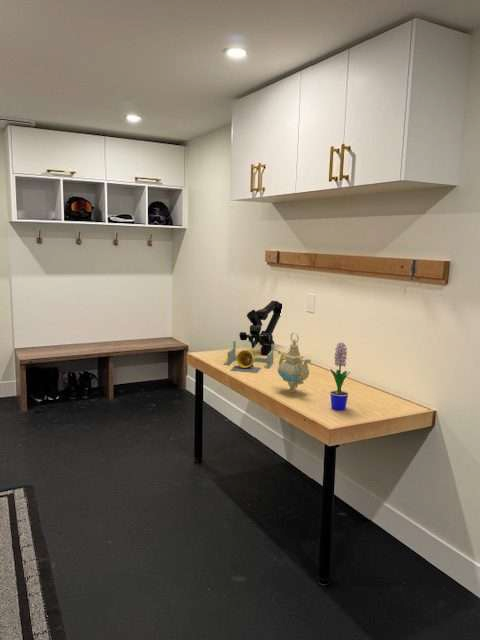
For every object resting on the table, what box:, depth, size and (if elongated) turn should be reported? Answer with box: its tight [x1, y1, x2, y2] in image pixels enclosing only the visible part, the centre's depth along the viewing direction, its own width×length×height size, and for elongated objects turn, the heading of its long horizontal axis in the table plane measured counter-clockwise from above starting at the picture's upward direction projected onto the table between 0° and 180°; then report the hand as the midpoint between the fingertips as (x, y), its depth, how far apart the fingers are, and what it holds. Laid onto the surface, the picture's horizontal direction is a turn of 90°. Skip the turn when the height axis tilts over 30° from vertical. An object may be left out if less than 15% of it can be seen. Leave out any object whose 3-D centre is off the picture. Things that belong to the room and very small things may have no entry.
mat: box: [230, 365, 262, 374], centre depth 289 cm, size 12×16×1 cm
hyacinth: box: [329, 342, 351, 411], centre depth 220 cm, size 9×10×30 cm
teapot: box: [277, 332, 312, 393], centre depth 244 cm, size 24×12×30 cm, turn 32°
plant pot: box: [235, 349, 255, 368], centre depth 294 cm, size 10×10×10 cm
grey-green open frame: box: [227, 340, 275, 369], centre depth 302 cm, size 15×25×12 cm, turn 77°
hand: (252, 348), depth 305 cm, fingers closed
